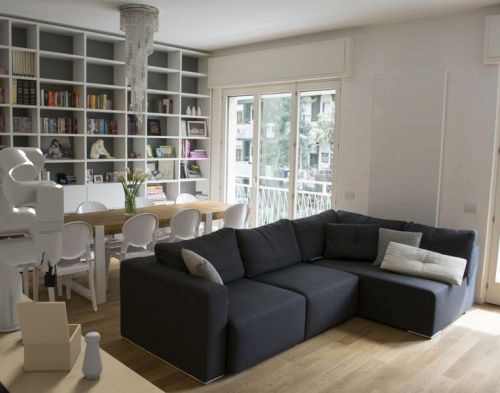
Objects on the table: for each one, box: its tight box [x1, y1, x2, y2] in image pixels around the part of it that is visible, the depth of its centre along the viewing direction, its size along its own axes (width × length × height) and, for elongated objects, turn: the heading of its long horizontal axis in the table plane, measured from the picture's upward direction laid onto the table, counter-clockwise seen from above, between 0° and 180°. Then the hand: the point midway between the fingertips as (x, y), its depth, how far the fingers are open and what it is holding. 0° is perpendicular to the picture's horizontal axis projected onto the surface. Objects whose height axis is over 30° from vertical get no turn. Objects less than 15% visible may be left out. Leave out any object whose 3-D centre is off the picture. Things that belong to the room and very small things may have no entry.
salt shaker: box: [81, 331, 104, 381], centre depth 141 cm, size 6×6×13 cm
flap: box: [16, 301, 70, 345], centre depth 139 cm, size 15×13×1 cm
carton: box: [23, 323, 82, 373], centre depth 150 cm, size 14×13×9 cm
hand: (50, 286), depth 145 cm, fingers closed
